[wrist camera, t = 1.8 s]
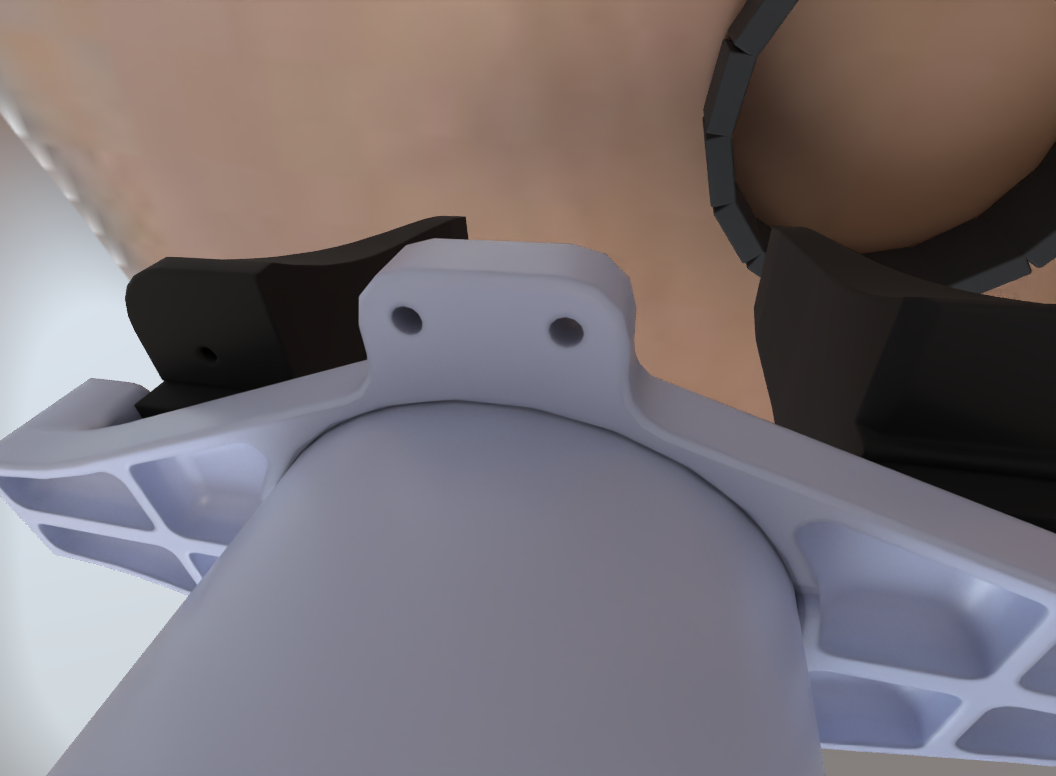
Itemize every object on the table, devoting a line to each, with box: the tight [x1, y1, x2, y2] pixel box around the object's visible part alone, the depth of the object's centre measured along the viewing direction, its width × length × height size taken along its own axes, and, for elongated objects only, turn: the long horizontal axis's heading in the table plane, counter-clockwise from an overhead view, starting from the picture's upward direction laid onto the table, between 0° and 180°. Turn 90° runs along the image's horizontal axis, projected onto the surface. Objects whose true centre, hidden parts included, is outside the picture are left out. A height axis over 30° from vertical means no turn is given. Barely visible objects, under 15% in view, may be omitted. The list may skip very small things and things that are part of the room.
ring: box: [703, 0, 1056, 294], centre depth 17 cm, size 12×12×3 cm
